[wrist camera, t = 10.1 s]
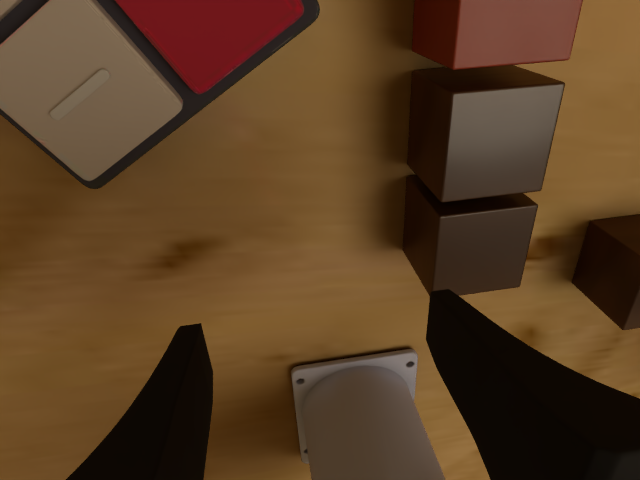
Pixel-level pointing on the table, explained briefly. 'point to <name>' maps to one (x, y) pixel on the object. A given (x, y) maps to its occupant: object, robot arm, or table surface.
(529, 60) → the block
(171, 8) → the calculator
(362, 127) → the table surface
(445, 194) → the T block
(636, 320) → the I block back
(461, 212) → the dark brown cube block
